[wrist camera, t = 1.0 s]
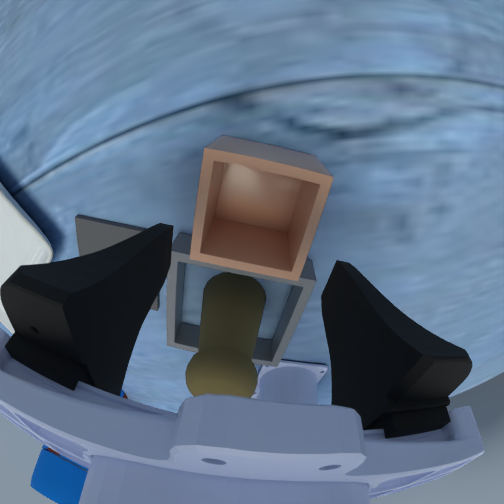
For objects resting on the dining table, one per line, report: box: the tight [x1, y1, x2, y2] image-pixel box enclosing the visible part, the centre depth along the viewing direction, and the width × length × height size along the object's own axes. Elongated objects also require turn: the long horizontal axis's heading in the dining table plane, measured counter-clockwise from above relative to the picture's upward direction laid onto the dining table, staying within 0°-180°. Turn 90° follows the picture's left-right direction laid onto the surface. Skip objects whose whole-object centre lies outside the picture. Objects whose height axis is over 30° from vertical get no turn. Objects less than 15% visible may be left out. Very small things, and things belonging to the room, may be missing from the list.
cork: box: [186, 272, 266, 398], centre depth 22 cm, size 6×6×11 cm
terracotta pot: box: [190, 135, 334, 281], centre depth 18 cm, size 7×7×6 cm
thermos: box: [31, 390, 127, 504], centre depth 29 cm, size 11×11×25 cm
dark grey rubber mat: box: [75, 215, 159, 311], centre depth 25 cm, size 9×9×1 cm
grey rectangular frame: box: [167, 233, 316, 367], centre depth 25 cm, size 12×12×3 cm
